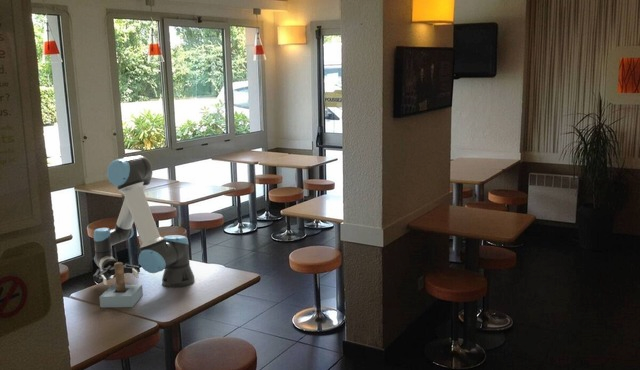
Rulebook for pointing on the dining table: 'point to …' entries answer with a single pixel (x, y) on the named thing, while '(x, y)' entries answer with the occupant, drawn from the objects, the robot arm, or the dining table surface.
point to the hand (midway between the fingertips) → (121, 278)
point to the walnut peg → (119, 277)
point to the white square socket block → (121, 296)
